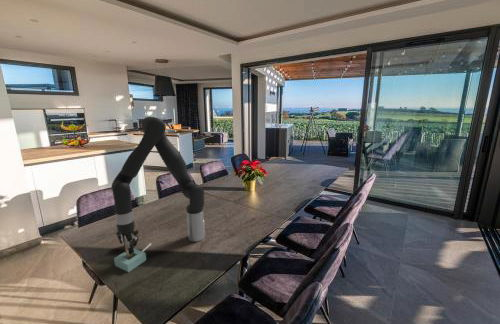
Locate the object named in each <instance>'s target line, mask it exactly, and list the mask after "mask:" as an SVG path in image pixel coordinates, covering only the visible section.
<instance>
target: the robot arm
mask: <svg viewBox="0 0 500 324" xmlns="http://www.w3.org/2000/svg"><path fill="white" fill-rule="evenodd" d="M140 125H141V130H142V132H143V136H142V138H141V140H140V142H139V143H138V145H137V146H136V147H135V148H134V149H133V151H131V153H130V154H129V155H128V157H127V158H126V160H125V162H124V163H123V166H122V168H121V169H120V171H119V172H118V173H117V175H116V177H115V178H114V179H113V181H112V184H111V190H112V195H113V200H114V212H115V223H116V224H115V225H116V230H117V232H115V233H116V237H117V239H118V241H119V243H120V244H121V245H122V247H123V249H124V252H125V253H126V248H125V241H124V238H125V240H126V244H128V250H129V254H130V255H131V254H132V253H134V249H135V247H136V246H138V245H137V244H138V241H139V235H138V236H137V237H135V236H134V232H133V230H134V231H135V229H136V228H135V227H136V225H135V216H134V213H133V207H132V206H133V205H132V199H131V197H132V196H131V195H132V191H131V186H130V184H131V182H132V181H133V179H135V178H136V176H138V174H139V172H140V170H141V169H142V167H143V165H144V163H145V161H146V160H147V157H148V156H149V154H150V153H151V151H152V150H153V149H154V148H155V149H156V151H157V153H158V154H159V157H160V158H161V160H162V162H163V163H164V165H165V166H166V169H167V170H168V171H169V172H170V174H171V175H172V178H174V179H175V181H176V182H177V184H178V186H179V188H180V191H181V192H182V194H183V196H184V197H185V198H187V199H189V204H188V205H187V206H186V219H187V220H186V222H187V234H188V241H190V242H200V241H202V240H204V238H205V236H206V223H205V220H204V207H205V190H204V188H203V186H201V185H199V184H197V183H195V182H194V181H193V180H192V177H190V176H189V173H188V169H187V168H188V167H187V163H186V161H185V159H184V158H183V156H182V154H181V152H179V151H180V150H178V149H177V148H176V147H175V145H174V144H173V143H172V142H171V141H170V140H169V138H168V137H167V134H166V133H165V132H166V131H167V130H166V129H167V127H166V126H167V125H166V123H165V122H164V120H162V119H160V118H158V117H155V116H147V117H144V119H142V121H141V124H140ZM130 243H131V245H130Z"/></svg>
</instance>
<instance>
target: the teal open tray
mask: <svg viewBox="0 0 500 324" xmlns="http://www.w3.org/2000/svg"><path fill="white" fill-rule="evenodd" d="M132 255H133V258H131V259H130V260H128V259H127V255H126V253H125V251H124V252H122V253H120V254H119V255H118V256H116V257H114V258H113V261H114V262H113V263H114V266H115V267H116V268H118V269H121V270H123V271H125V272H128V273H130V272H131V271H133V270H134V269H136V268H137V267H138V266H140V265H142V264H143V263H144V262H145V261H147V254H146V252H145V251H144V252H142V250H139V249H136V248H134V253H132Z"/></svg>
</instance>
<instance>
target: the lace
mask: <svg viewBox="0 0 500 324" xmlns="http://www.w3.org/2000/svg"><path fill="white" fill-rule="evenodd" d="M151 245H152V243H151V242H150V243H149V244H148V245H146V247H144V249H142V250H141V251H142V252H144V253H145V251H146V250H147V249H148V248H150V246H151Z"/></svg>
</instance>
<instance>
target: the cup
mask: <svg viewBox="0 0 500 324" xmlns="http://www.w3.org/2000/svg"><path fill="white" fill-rule="evenodd" d="M133 232H134V236H135V237H137V236H138V237H139V230H138V229H137V230H135V229H134V230H133Z"/></svg>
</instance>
